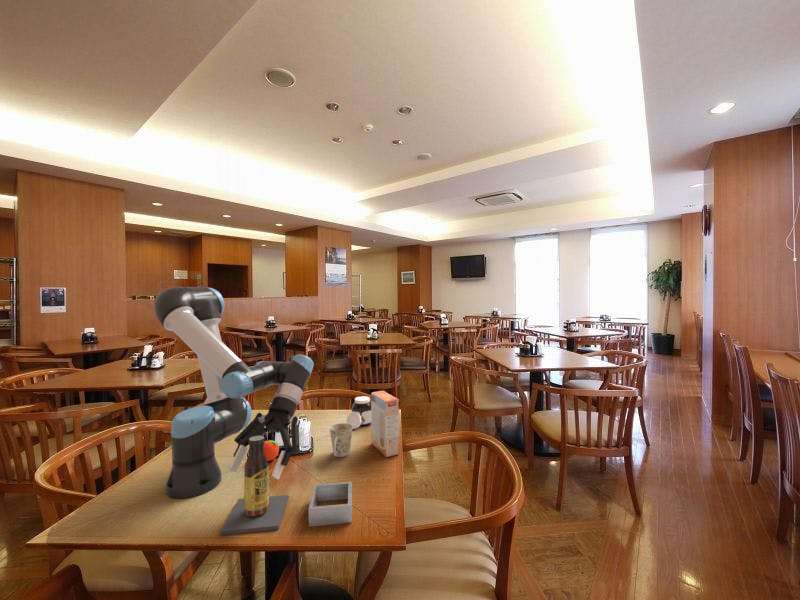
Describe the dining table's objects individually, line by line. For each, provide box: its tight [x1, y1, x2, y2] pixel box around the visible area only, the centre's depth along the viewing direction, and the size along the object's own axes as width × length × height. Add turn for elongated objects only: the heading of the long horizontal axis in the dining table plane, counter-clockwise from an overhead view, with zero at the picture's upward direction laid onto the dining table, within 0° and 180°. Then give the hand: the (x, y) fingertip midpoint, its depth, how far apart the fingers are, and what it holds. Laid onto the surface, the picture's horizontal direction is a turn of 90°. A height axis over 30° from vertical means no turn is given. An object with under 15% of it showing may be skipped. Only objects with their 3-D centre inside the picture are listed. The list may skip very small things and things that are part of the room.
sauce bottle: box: [243, 435, 270, 517], centre depth 97 cm, size 6×6×20 cm
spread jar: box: [346, 396, 371, 430], centre depth 162 cm, size 12×11×12 cm
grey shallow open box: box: [308, 481, 353, 527], centre depth 98 cm, size 11×12×4 cm
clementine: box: [264, 439, 281, 462], centre depth 129 cm, size 8×7×7 cm
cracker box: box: [370, 390, 400, 458], centre depth 136 cm, size 14×6×21 cm, turn 26°
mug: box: [329, 422, 353, 458], centre depth 131 cm, size 8×13×10 cm, turn 174°
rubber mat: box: [220, 494, 290, 536], centre depth 97 cm, size 14×14×1 cm
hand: (253, 474), depth 95 cm, fingers open, 13 cm apart
